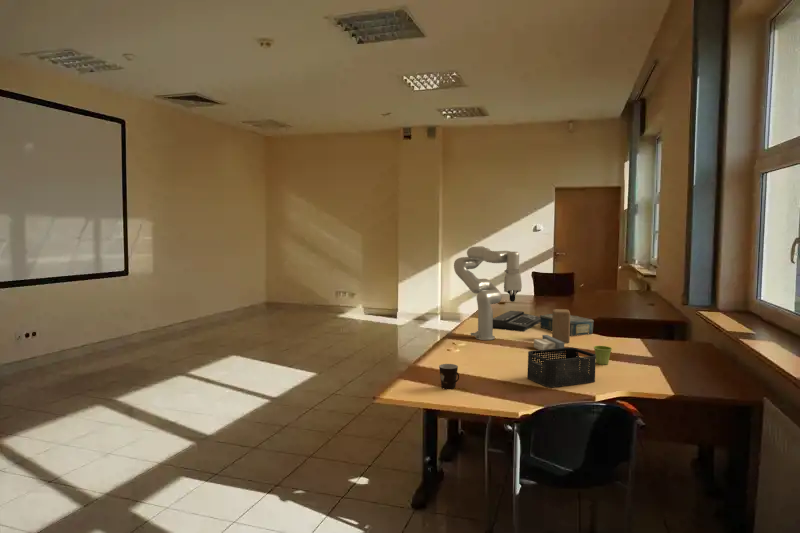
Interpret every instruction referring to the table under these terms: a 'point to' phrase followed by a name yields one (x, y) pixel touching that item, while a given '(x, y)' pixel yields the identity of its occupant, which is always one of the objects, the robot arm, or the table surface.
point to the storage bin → (561, 367)
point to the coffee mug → (448, 375)
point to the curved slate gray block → (558, 343)
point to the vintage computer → (515, 321)
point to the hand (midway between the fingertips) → (512, 301)
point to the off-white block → (544, 344)
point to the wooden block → (561, 325)
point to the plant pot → (602, 354)
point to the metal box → (576, 324)
